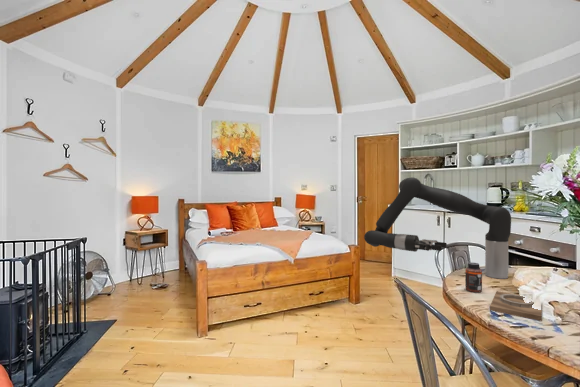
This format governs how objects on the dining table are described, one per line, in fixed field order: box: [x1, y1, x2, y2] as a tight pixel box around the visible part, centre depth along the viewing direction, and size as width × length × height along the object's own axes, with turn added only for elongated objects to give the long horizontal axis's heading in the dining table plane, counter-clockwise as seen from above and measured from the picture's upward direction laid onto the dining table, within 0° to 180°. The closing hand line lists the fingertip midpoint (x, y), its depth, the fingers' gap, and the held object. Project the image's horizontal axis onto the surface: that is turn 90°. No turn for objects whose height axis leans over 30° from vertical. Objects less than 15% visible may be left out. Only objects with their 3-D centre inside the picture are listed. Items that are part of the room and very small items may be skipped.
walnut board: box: [489, 290, 543, 322], centre depth 112 cm, size 20×14×3 cm
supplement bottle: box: [464, 261, 483, 293], centre depth 129 cm, size 6×6×11 cm
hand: (444, 246), depth 136 cm, fingers open, 8 cm apart
